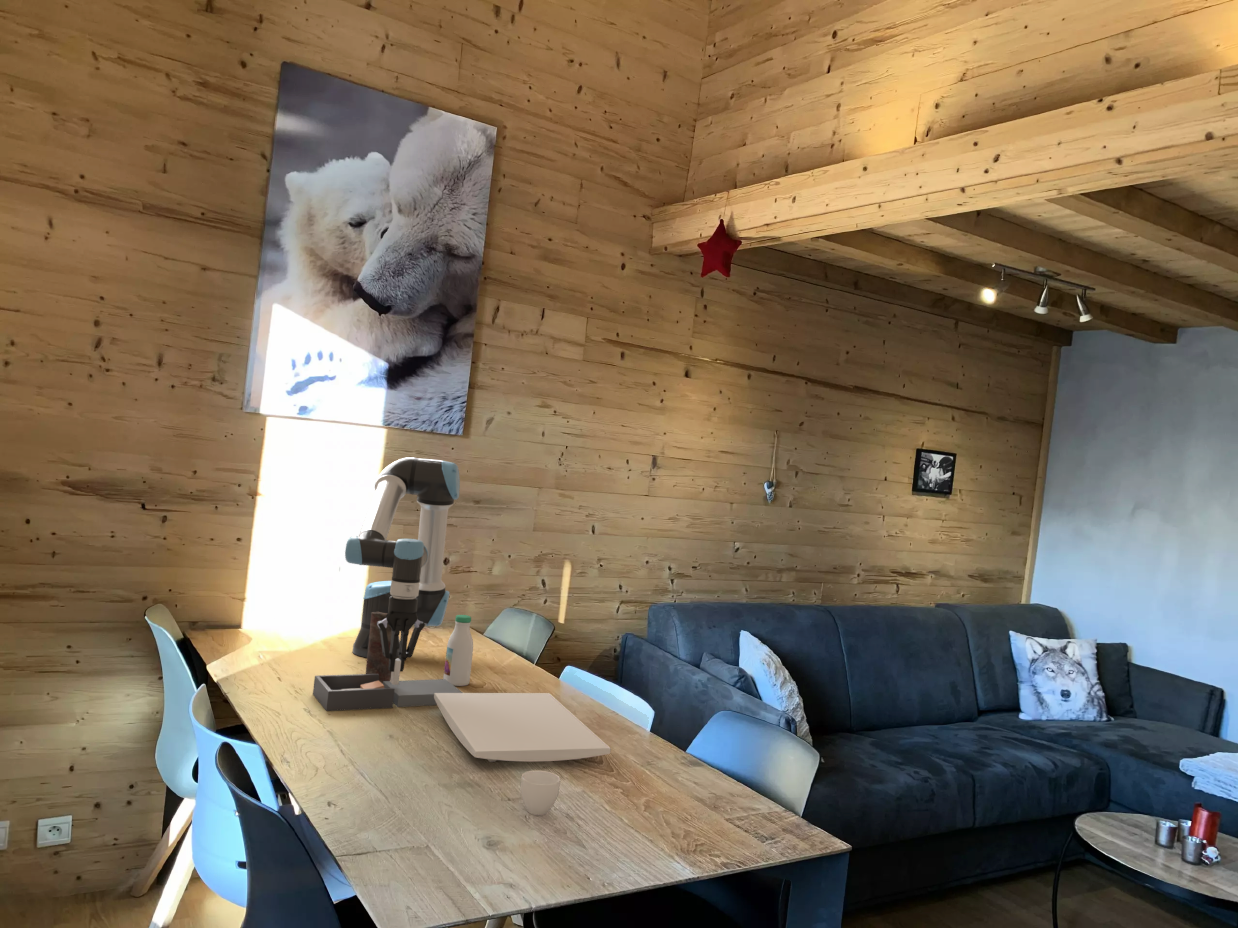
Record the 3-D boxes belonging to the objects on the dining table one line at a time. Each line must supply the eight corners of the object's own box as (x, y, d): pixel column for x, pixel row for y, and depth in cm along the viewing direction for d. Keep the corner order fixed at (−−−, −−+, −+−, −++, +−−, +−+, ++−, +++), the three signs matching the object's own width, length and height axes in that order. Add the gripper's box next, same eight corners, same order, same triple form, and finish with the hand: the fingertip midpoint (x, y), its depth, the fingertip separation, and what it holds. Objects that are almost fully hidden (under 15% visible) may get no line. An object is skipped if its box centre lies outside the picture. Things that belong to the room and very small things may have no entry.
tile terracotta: (360, 692, 241) (360, 684, 241) (379, 687, 243) (378, 680, 243) (366, 697, 237) (365, 690, 236) (384, 692, 239) (384, 685, 239)
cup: (530, 821, 173) (534, 786, 173) (505, 801, 182) (508, 768, 181) (564, 815, 178) (567, 781, 178) (538, 796, 186) (541, 764, 186)
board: (432, 710, 238) (434, 692, 238) (547, 709, 250) (549, 692, 250) (473, 772, 196) (475, 751, 196) (608, 768, 209) (610, 748, 209)
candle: (358, 680, 257) (366, 611, 257) (374, 676, 264) (382, 608, 263) (380, 686, 254) (388, 615, 254) (396, 681, 261) (404, 612, 261)
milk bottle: (472, 681, 269) (479, 615, 269) (465, 687, 262) (472, 619, 262) (447, 678, 270) (454, 612, 270) (439, 684, 262) (447, 616, 262)
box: (312, 694, 239) (314, 675, 239) (376, 691, 248) (378, 673, 248) (326, 710, 226) (328, 691, 226) (392, 707, 235) (394, 688, 235)
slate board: (382, 691, 248) (383, 681, 248) (444, 689, 258) (445, 678, 258) (397, 706, 236) (398, 695, 236) (461, 703, 246) (463, 692, 246)
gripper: (383, 598, 236) (374, 687, 236) (431, 599, 243) (422, 686, 243) (376, 593, 243) (366, 680, 243) (423, 594, 249) (413, 678, 249)
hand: (394, 683), depth 243 cm, fingers closed
